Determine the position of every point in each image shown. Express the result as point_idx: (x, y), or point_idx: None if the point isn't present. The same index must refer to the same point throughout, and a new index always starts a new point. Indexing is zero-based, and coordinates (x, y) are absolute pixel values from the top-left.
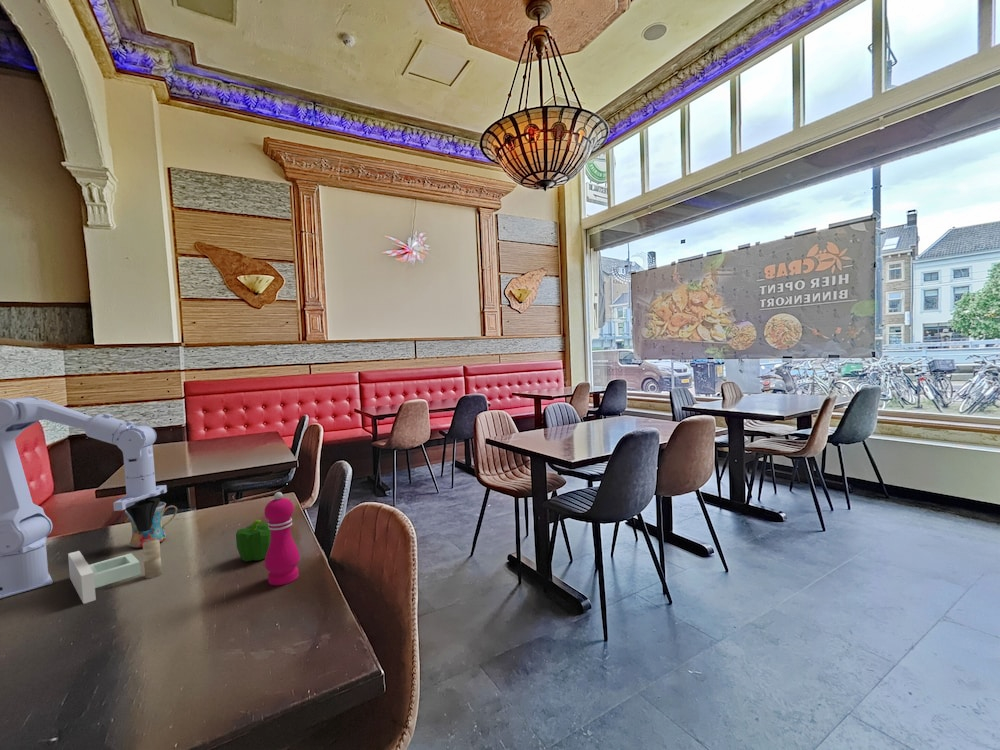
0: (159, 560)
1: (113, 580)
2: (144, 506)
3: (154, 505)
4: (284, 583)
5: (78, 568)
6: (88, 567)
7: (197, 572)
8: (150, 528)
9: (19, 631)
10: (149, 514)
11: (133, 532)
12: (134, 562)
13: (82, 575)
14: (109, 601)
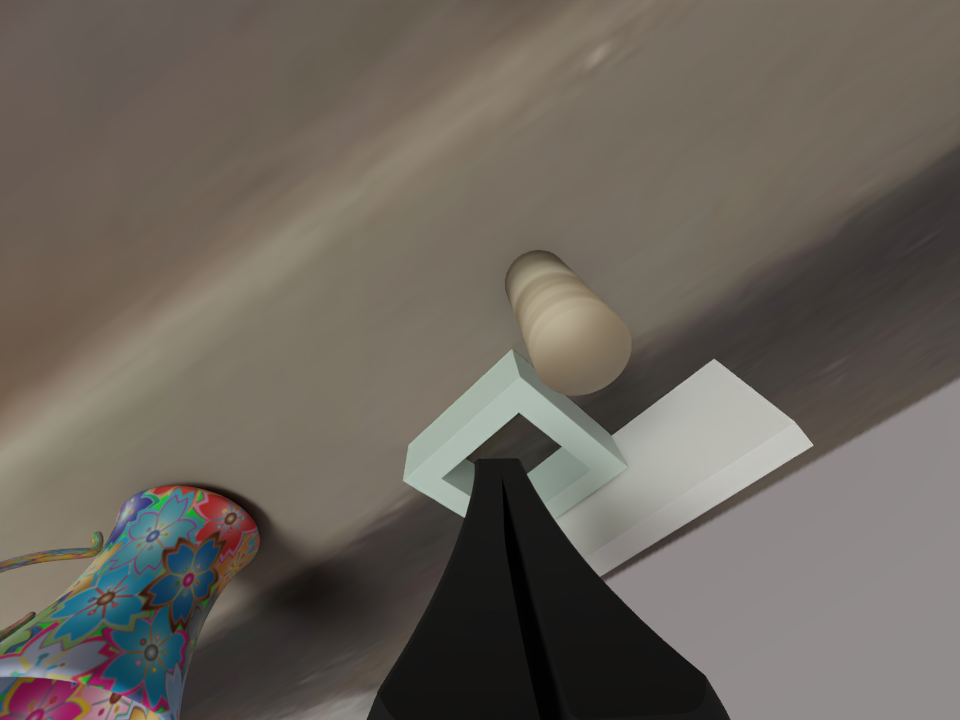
0: (553, 268)
1: (571, 404)
2: (723, 711)
3: (492, 659)
4: None
5: (702, 510)
6: (709, 482)
7: (556, 20)
8: (479, 462)
9: (847, 426)
10: (534, 565)
11: (215, 601)
12: (521, 396)
13: (808, 445)
14: (752, 297)
